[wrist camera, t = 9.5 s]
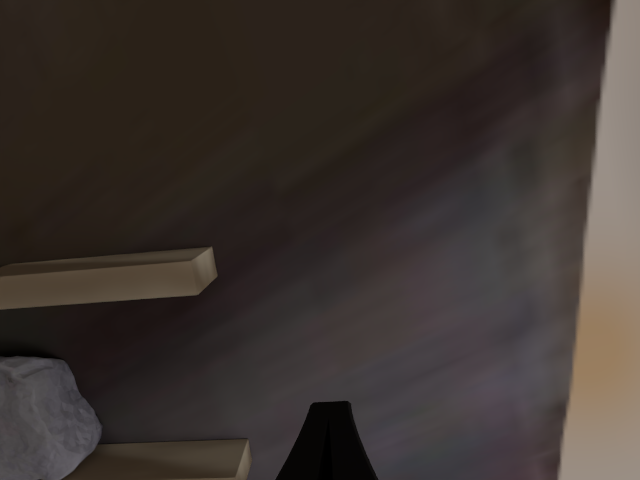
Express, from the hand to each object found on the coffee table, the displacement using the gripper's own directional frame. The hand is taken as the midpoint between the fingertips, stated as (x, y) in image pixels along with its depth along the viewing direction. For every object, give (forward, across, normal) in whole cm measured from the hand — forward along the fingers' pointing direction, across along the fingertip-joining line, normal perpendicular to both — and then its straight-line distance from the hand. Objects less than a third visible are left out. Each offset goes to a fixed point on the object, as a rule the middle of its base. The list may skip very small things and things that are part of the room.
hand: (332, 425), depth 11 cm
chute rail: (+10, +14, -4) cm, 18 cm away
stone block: (+10, +25, +6) cm, 28 cm away
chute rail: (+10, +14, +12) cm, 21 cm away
